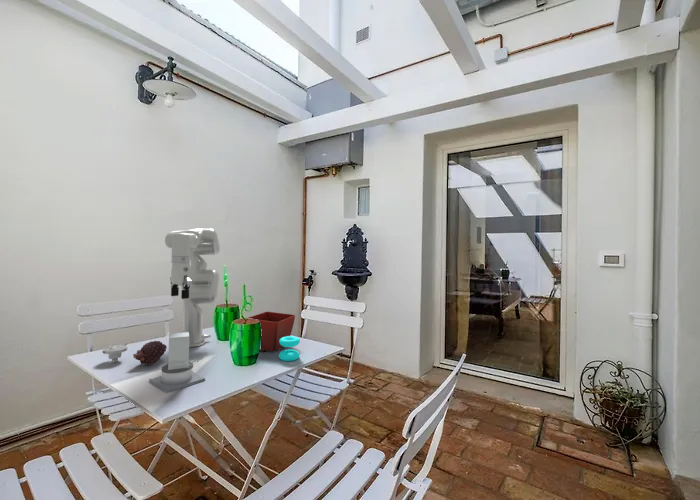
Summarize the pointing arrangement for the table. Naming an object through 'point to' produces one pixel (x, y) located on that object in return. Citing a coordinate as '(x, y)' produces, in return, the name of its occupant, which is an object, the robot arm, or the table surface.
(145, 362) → the pine cone
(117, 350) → the showerhead
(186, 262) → the robot arm
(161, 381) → the duct stub
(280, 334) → the plant pot
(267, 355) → the table surface
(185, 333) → the supplement box
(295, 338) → the donuts
